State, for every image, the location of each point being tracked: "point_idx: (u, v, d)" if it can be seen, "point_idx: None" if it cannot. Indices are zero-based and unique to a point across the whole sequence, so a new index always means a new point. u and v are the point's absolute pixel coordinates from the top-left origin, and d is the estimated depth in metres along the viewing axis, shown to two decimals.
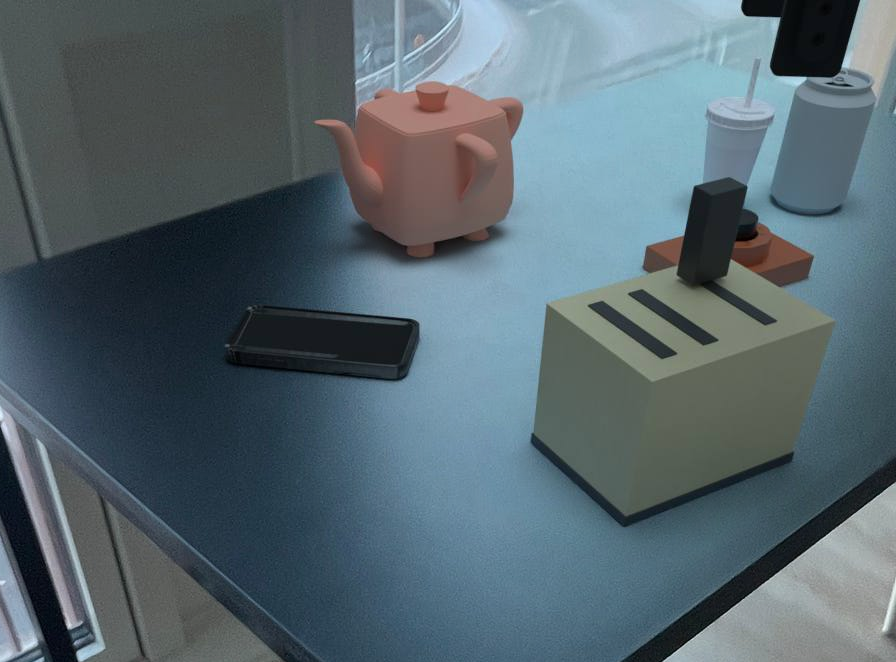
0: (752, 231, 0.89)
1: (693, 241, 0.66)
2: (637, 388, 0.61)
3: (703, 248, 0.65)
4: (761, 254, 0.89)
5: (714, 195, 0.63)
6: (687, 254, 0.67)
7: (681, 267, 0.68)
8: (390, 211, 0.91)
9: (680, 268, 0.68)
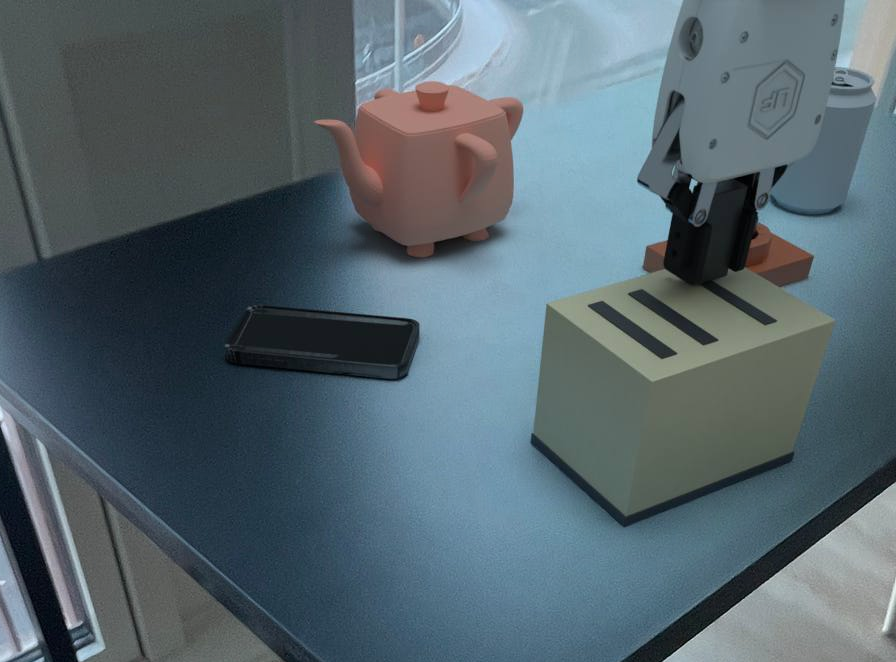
0: None
1: None
2: (637, 388, 0.61)
3: None
4: (761, 254, 0.89)
5: (714, 195, 0.63)
6: None
7: None
8: (390, 211, 0.91)
9: None
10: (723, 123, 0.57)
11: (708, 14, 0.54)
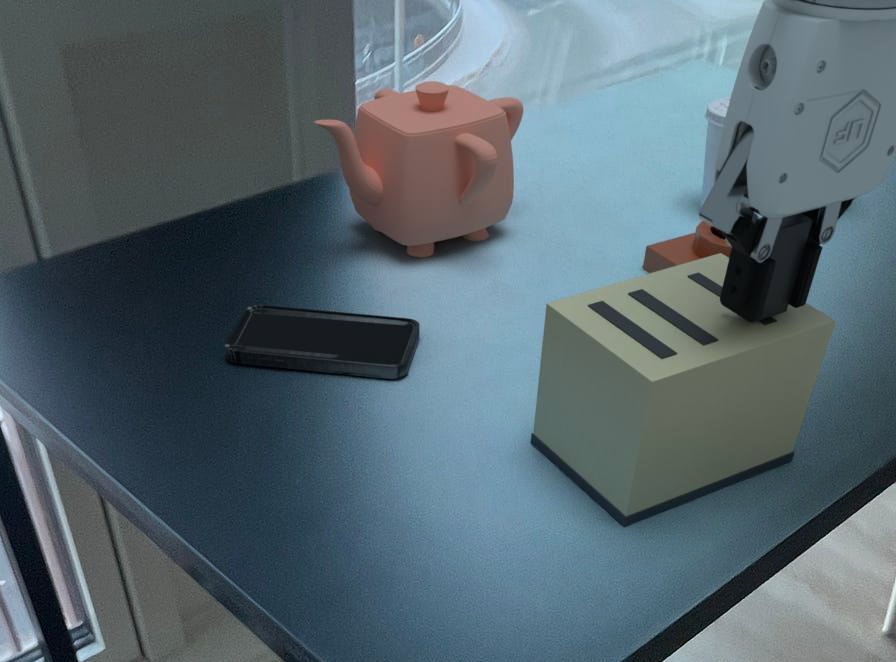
0: None
1: None
2: (637, 388, 0.61)
3: None
4: None
5: None
6: None
7: None
8: (390, 211, 0.91)
9: None
10: (795, 156, 0.54)
11: (783, 42, 0.51)
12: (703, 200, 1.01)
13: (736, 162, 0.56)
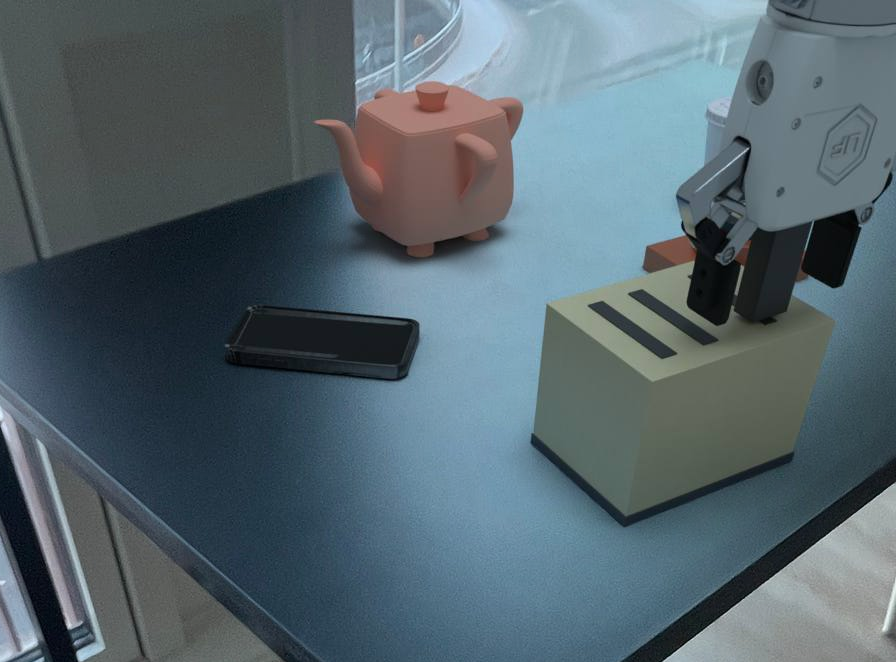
0: None
1: (753, 276, 0.62)
2: (637, 388, 0.61)
3: (764, 284, 0.62)
4: None
5: None
6: (746, 290, 0.63)
7: (739, 303, 0.64)
8: (390, 211, 0.91)
9: (738, 304, 0.64)
10: (792, 170, 0.54)
11: (780, 58, 0.52)
12: None
13: (729, 155, 0.55)
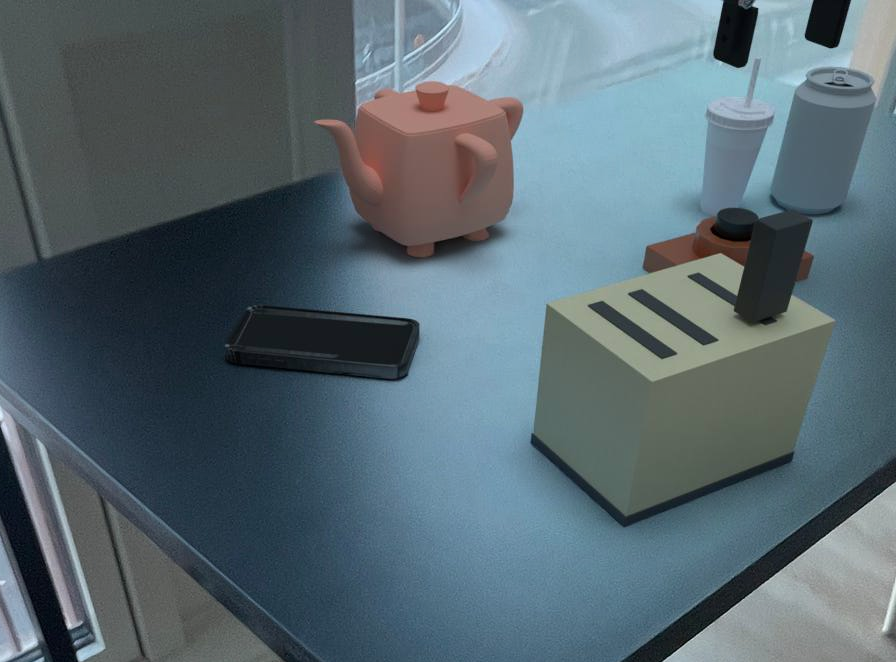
0: (752, 231, 0.89)
1: (753, 276, 0.62)
2: (637, 388, 0.61)
3: (764, 284, 0.62)
4: None
5: (778, 230, 0.60)
6: (746, 290, 0.63)
7: (739, 303, 0.64)
8: (390, 211, 0.91)
9: (738, 304, 0.64)
10: None
11: None
12: (703, 200, 1.01)
13: None
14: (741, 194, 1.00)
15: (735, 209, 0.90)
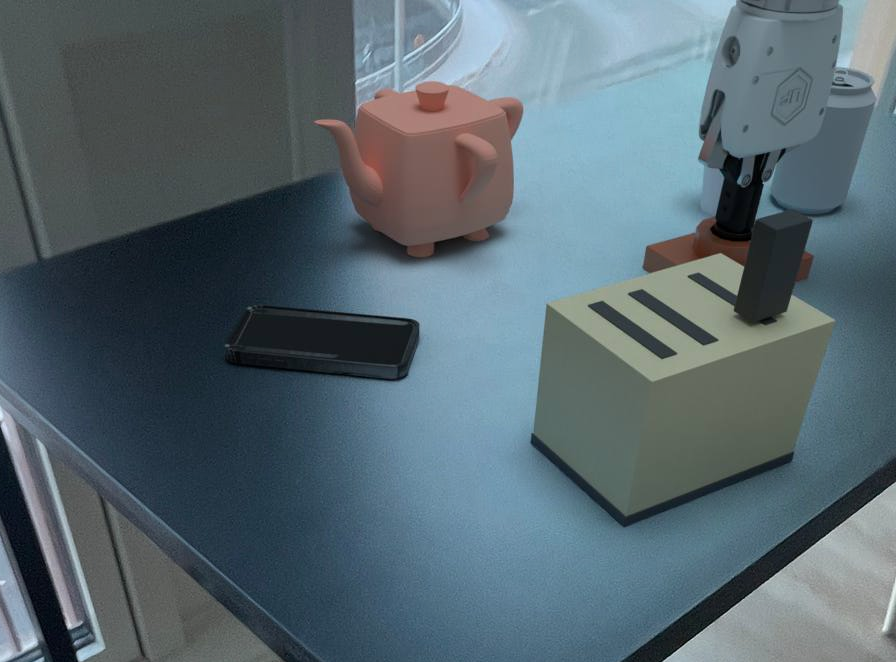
0: None
1: (753, 276, 0.62)
2: (637, 388, 0.61)
3: (764, 284, 0.62)
4: None
5: (778, 230, 0.60)
6: (746, 290, 0.63)
7: (739, 303, 0.64)
8: (390, 211, 0.91)
9: (738, 304, 0.64)
10: (753, 113, 0.79)
11: (744, 34, 0.76)
12: (703, 200, 1.01)
13: (717, 121, 0.81)
14: None
15: None
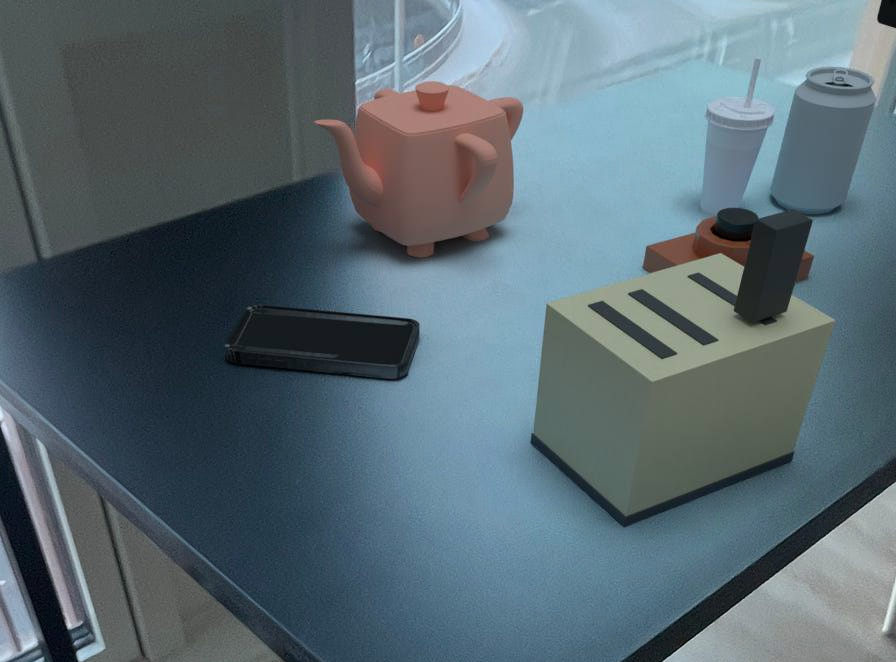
0: (752, 231, 0.89)
1: (753, 276, 0.62)
2: (637, 388, 0.61)
3: (764, 284, 0.62)
4: None
5: (778, 230, 0.60)
6: (746, 290, 0.63)
7: (739, 303, 0.64)
8: (390, 211, 0.91)
9: (738, 304, 0.64)
10: None
11: None
12: (703, 200, 1.01)
13: None
14: (741, 194, 1.00)
15: (735, 209, 0.90)
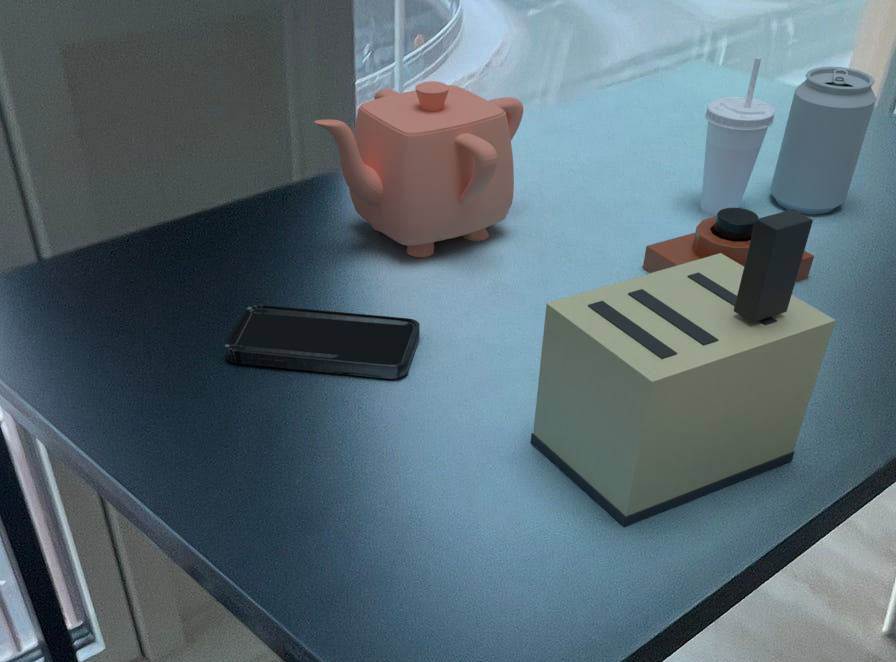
0: (752, 231, 0.89)
1: (753, 276, 0.62)
2: (637, 388, 0.61)
3: (764, 284, 0.62)
4: None
5: (778, 230, 0.60)
6: (746, 290, 0.63)
7: (739, 303, 0.64)
8: (390, 211, 0.91)
9: (738, 304, 0.64)
10: None
11: None
12: (703, 200, 1.01)
13: None
14: (741, 194, 1.00)
15: (735, 209, 0.90)
